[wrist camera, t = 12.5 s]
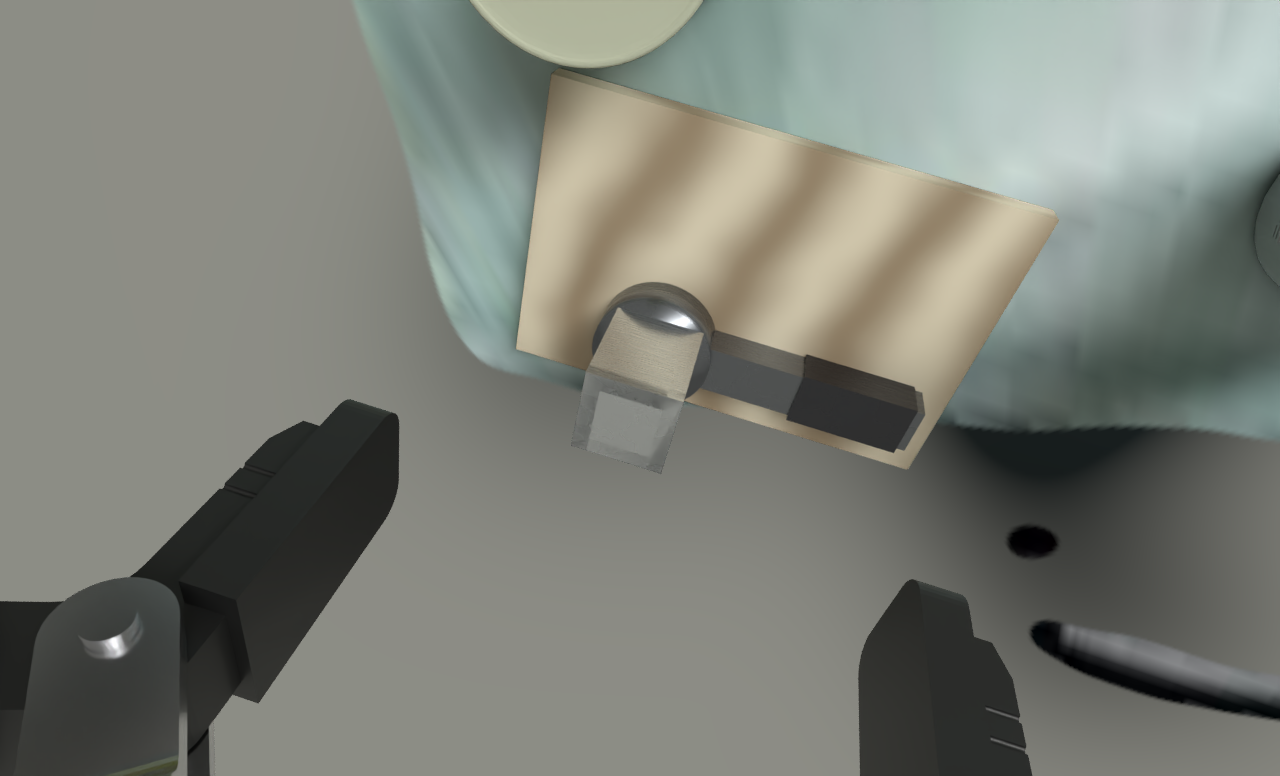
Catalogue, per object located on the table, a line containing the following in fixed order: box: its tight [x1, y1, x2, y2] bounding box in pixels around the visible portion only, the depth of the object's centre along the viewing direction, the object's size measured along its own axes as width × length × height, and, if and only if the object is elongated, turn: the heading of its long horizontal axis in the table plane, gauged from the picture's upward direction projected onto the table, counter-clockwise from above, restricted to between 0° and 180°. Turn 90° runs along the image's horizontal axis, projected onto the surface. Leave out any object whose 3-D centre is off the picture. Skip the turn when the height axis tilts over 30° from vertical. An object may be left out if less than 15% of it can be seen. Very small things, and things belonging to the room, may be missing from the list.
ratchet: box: [592, 282, 925, 453], centre depth 38 cm, size 18×6×7 cm, turn 78°
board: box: [516, 68, 1059, 470], centre depth 39 cm, size 24×16×1 cm, turn 78°
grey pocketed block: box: [571, 308, 704, 474], centre depth 37 cm, size 5×5×6 cm
